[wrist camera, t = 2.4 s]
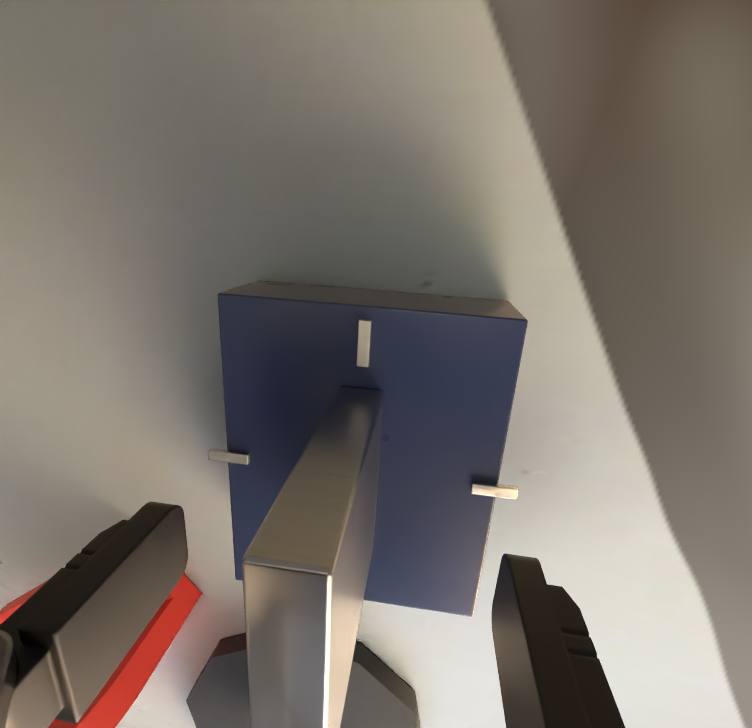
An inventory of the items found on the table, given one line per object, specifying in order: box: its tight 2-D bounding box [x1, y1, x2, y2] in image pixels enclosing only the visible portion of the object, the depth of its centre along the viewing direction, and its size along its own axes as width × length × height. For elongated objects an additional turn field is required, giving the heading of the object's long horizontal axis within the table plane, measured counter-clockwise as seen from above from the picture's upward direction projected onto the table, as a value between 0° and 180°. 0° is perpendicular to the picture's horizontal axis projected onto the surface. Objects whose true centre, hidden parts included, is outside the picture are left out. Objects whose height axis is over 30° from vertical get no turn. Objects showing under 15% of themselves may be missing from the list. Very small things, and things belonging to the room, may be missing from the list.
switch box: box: [208, 281, 528, 617], centre depth 15 cm, size 11×10×3 cm
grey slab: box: [242, 387, 384, 728], centre depth 10 cm, size 6×1×7 cm, turn 177°
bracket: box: [0, 573, 202, 728], centre depth 18 cm, size 12×4×8 cm, turn 124°
